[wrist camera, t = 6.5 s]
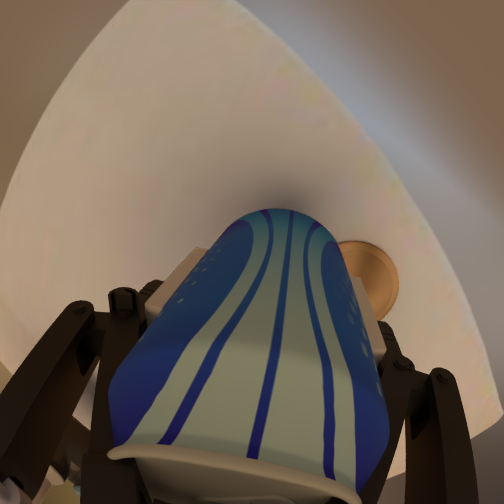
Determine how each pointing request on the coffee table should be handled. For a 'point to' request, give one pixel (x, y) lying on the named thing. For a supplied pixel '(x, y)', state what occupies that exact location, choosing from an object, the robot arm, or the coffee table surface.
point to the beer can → (255, 376)
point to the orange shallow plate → (372, 274)
